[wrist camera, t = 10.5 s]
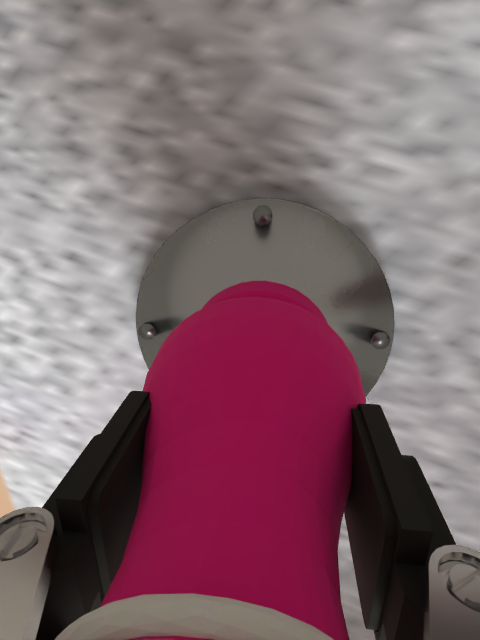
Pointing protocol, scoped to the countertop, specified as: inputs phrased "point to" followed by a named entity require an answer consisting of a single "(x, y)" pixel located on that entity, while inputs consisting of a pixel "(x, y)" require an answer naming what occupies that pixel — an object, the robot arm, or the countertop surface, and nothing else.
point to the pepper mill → (239, 479)
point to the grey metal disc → (270, 274)
